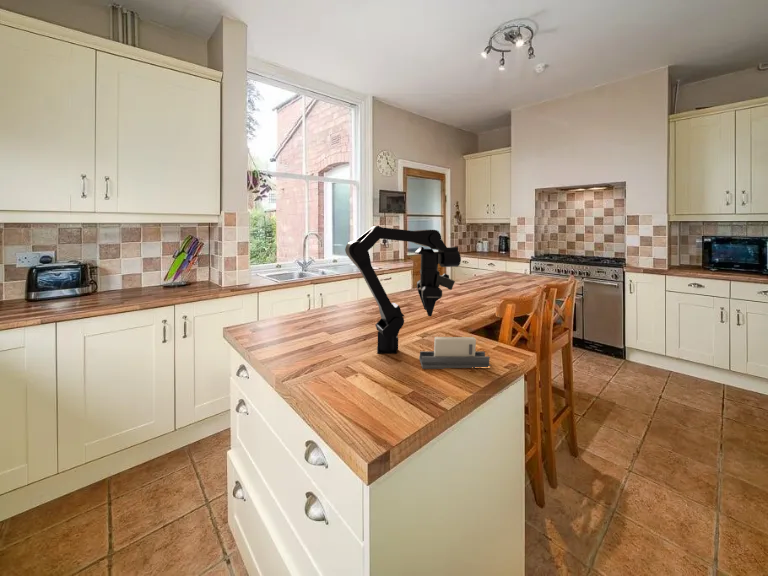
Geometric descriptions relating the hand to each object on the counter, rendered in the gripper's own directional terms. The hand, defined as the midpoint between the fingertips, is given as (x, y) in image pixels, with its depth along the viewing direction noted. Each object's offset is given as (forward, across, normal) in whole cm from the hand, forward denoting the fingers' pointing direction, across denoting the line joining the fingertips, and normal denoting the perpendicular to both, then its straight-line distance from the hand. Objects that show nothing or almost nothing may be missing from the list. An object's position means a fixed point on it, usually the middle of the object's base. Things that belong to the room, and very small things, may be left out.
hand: (427, 312), depth 122 cm
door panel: (+11, -16, -6) cm, 20 cm away
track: (+12, -16, -6) cm, 21 cm away
